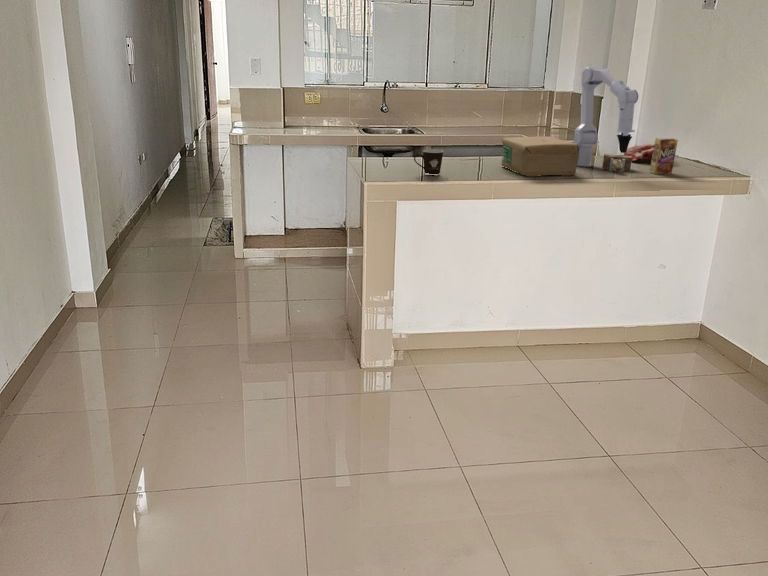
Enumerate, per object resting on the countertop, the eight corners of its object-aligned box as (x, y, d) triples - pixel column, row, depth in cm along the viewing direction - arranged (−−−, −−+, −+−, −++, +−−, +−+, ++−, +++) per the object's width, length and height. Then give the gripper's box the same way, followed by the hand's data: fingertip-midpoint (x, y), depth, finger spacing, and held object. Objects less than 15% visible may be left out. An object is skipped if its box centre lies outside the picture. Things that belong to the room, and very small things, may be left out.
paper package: (497, 166, 309) (500, 136, 305) (549, 165, 315) (552, 135, 310) (521, 178, 285) (524, 144, 280) (577, 176, 290) (581, 143, 285)
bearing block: (602, 169, 307) (604, 156, 305) (602, 167, 312) (604, 154, 310) (630, 171, 304) (632, 157, 302) (629, 168, 309) (631, 155, 307)
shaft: (611, 172, 298) (612, 161, 296) (610, 168, 307) (612, 157, 305) (622, 172, 296) (624, 161, 295) (621, 168, 305) (623, 158, 304)
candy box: (654, 174, 298) (660, 139, 292) (649, 172, 301) (654, 138, 296) (672, 173, 299) (678, 139, 294) (666, 172, 303) (672, 137, 298)
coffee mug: (444, 173, 289) (445, 150, 286) (439, 177, 282) (440, 153, 278) (418, 171, 293) (419, 148, 289) (412, 175, 285) (413, 151, 282)
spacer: (609, 170, 304) (610, 158, 302) (609, 170, 306) (610, 158, 304) (623, 171, 302) (625, 159, 301) (623, 171, 304) (625, 159, 302)
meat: (625, 164, 323) (628, 142, 320) (621, 157, 343) (624, 137, 339) (671, 166, 319) (674, 145, 315) (664, 159, 338) (668, 139, 335)
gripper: (637, 120, 278) (633, 153, 281) (634, 118, 291) (631, 150, 295) (619, 120, 279) (616, 153, 283) (617, 118, 293) (614, 150, 297)
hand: (622, 151), depth 289 cm, fingers open, 7 cm apart
